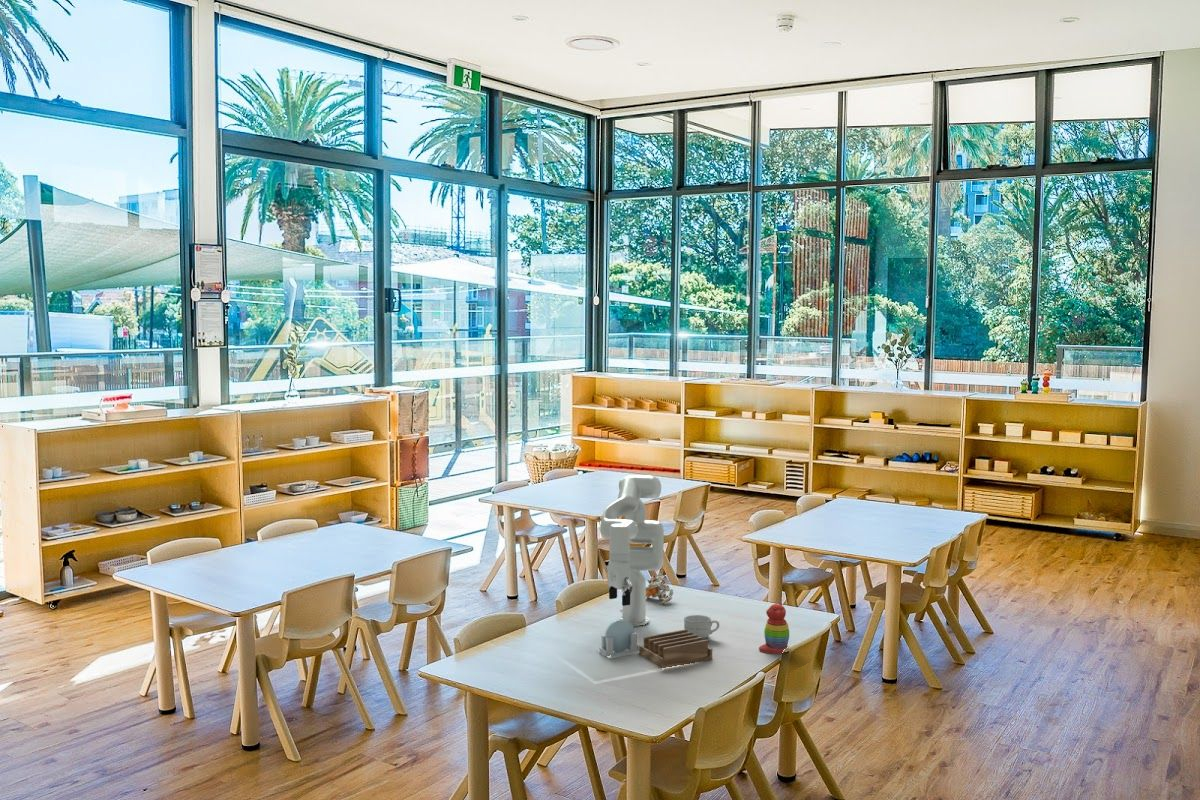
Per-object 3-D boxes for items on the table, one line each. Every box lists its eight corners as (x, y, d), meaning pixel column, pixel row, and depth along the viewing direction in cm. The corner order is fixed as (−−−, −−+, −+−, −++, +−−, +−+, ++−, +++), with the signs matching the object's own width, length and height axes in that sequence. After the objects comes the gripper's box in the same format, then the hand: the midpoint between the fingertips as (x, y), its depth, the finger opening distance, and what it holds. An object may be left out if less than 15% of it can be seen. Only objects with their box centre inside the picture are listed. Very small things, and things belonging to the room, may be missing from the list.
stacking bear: (771, 643, 394) (771, 598, 392) (794, 649, 388) (795, 603, 386) (756, 650, 386) (757, 605, 384) (780, 656, 379) (781, 610, 378)
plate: (604, 653, 381) (604, 622, 380) (632, 648, 386) (632, 617, 385) (606, 654, 379) (606, 623, 378) (634, 649, 385) (634, 618, 384)
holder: (595, 653, 384) (595, 633, 383) (630, 646, 391) (630, 627, 390) (608, 661, 375) (608, 641, 374) (643, 654, 382) (643, 635, 381)
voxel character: (655, 600, 458) (680, 590, 449) (646, 611, 450) (671, 601, 441) (641, 579, 457) (666, 569, 448) (632, 590, 449) (657, 580, 440)
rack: (639, 656, 380) (639, 637, 379) (688, 646, 391) (688, 627, 390) (661, 670, 366) (661, 650, 365) (712, 659, 377) (712, 640, 376)
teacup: (679, 639, 399) (679, 619, 398) (690, 631, 409) (690, 612, 408) (712, 645, 393) (713, 624, 392) (722, 636, 402) (723, 617, 401)
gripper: (599, 553, 385) (599, 597, 387) (622, 563, 370) (622, 609, 372) (616, 550, 389) (616, 594, 390) (640, 560, 374) (640, 606, 375)
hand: (619, 601), depth 381 cm, fingers open, 9 cm apart
